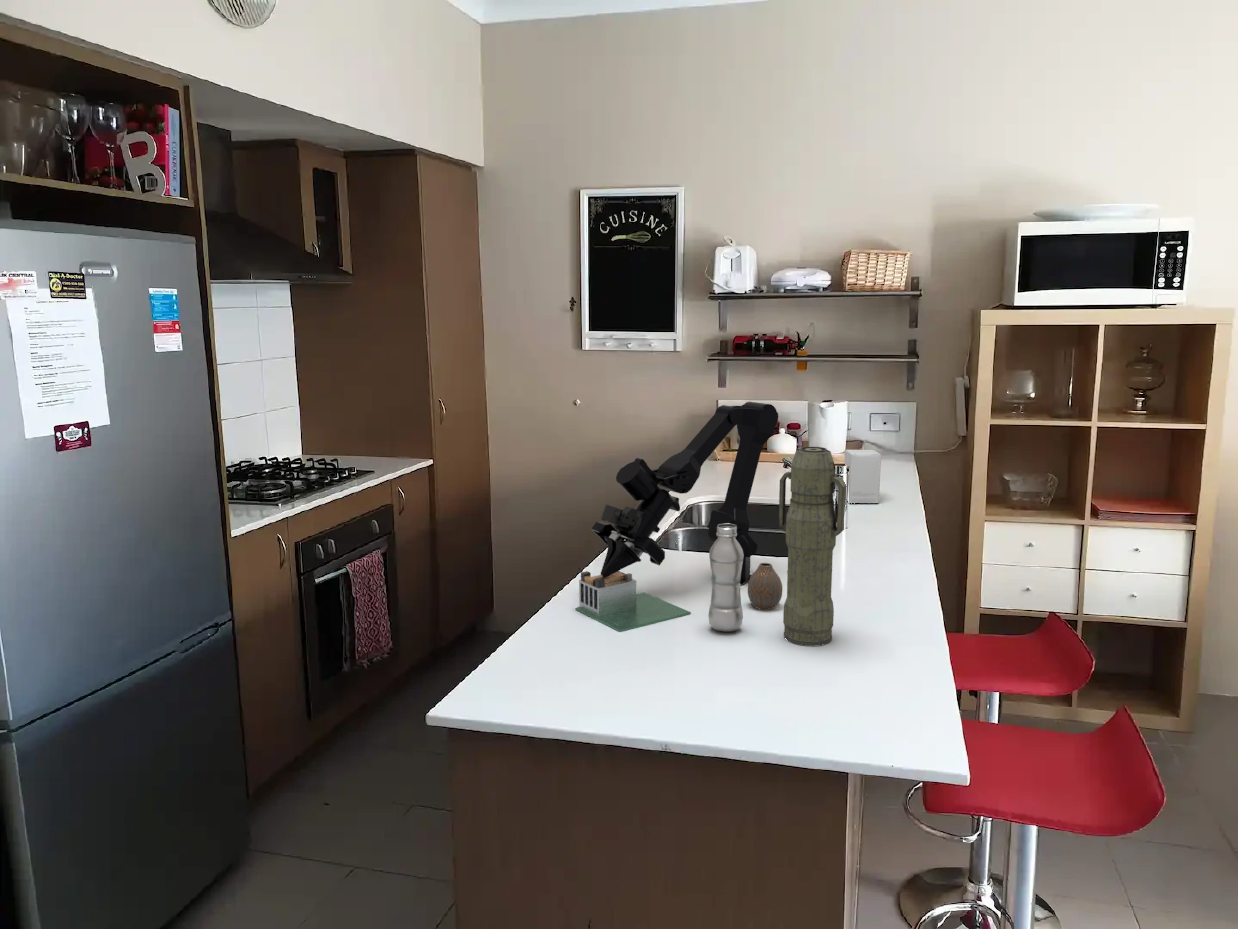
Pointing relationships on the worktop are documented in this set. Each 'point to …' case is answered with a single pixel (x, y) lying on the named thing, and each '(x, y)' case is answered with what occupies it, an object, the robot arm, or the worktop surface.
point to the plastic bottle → (726, 580)
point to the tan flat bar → (606, 578)
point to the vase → (765, 587)
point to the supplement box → (863, 475)
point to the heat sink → (623, 604)
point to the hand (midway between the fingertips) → (602, 576)
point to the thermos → (810, 544)
